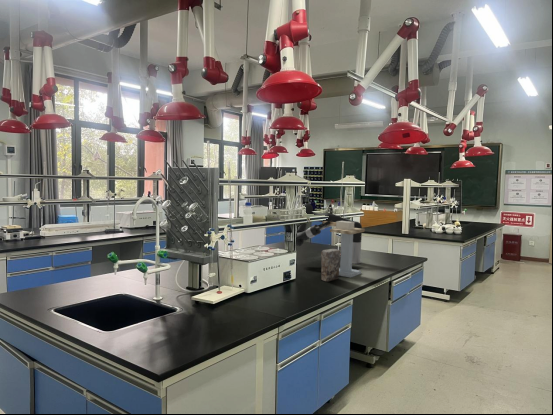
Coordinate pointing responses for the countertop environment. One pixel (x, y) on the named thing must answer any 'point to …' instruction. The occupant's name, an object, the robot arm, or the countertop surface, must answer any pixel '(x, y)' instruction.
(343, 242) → the shelf stand
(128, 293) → the countertop surface
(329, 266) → the stone block
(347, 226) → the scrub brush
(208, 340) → the countertop surface
